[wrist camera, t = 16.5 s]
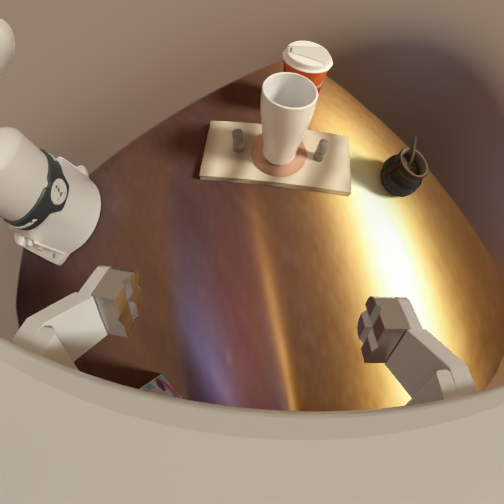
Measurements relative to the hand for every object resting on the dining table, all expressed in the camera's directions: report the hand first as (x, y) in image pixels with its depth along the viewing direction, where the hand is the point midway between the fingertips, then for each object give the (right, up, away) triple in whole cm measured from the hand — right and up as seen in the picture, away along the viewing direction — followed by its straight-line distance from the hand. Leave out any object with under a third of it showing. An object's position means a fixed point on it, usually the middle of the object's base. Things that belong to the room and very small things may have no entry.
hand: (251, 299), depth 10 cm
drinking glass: (+4, +17, +34) cm, 38 cm away
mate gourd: (+25, +14, +35) cm, 46 cm away
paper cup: (+8, +29, +38) cm, 48 cm away
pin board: (+4, +17, +36) cm, 40 cm away
